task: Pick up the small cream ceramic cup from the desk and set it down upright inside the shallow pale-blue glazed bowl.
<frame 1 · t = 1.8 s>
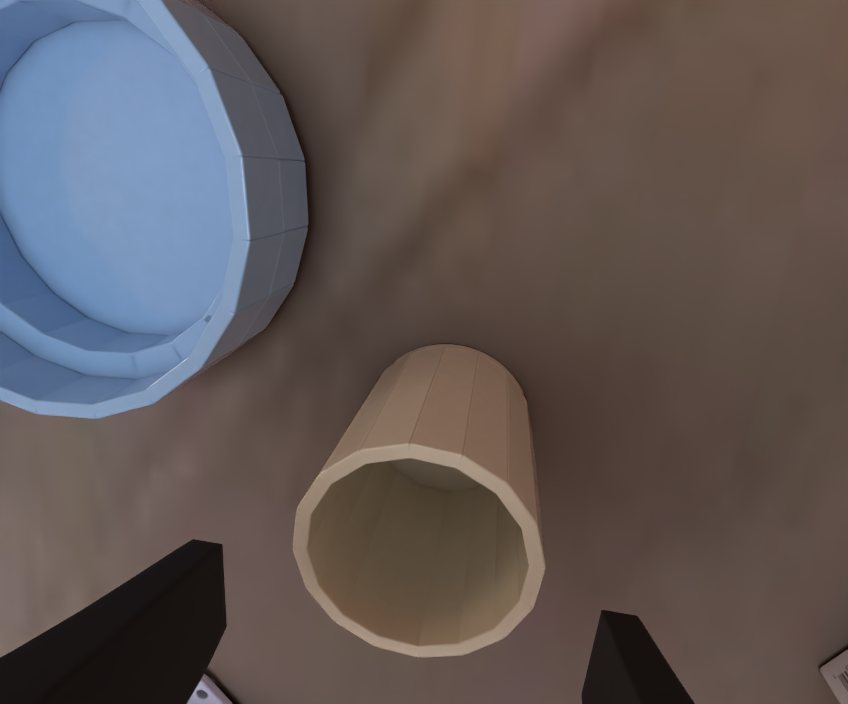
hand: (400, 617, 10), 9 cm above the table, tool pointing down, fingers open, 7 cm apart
bowl: (136, 190, 17), on the table
cup: (447, 420, 18), on the table
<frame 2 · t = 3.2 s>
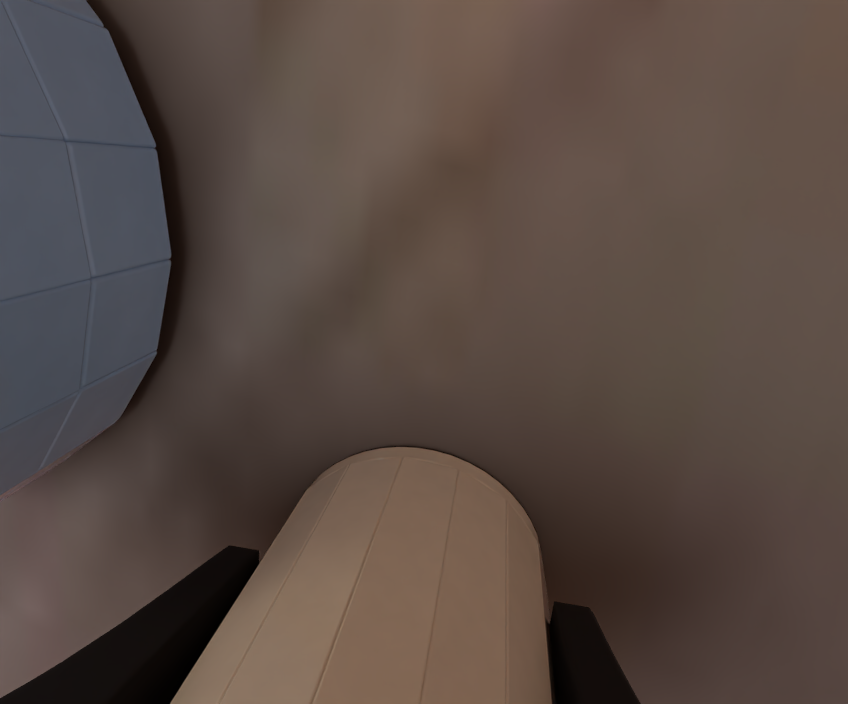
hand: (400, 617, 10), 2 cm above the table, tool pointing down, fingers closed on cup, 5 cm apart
cup: (412, 559, 12), on the table, touching gripper
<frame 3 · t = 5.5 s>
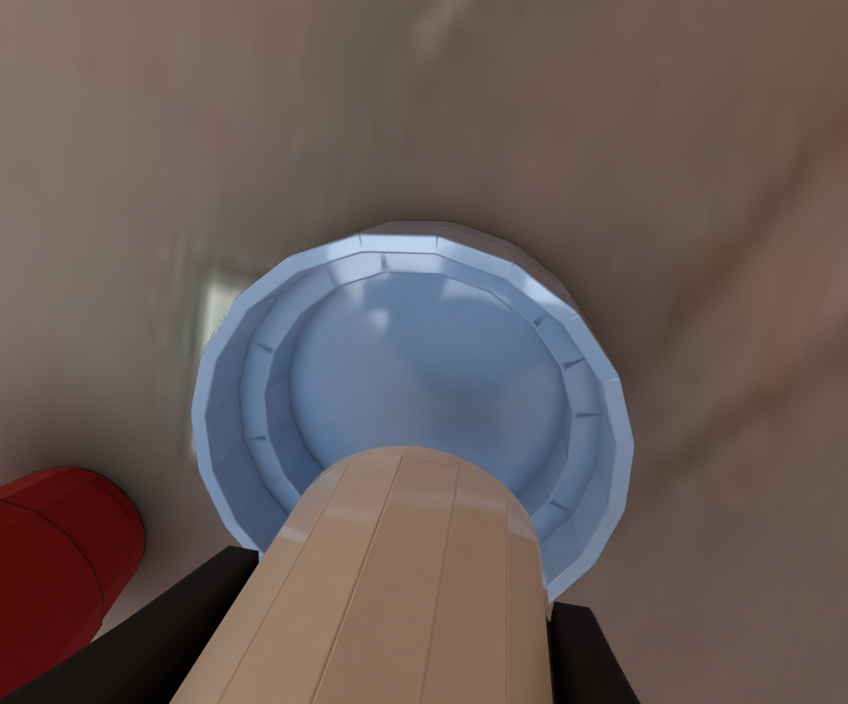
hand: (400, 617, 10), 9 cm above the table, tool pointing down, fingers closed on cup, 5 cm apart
bowl: (424, 395, 19), on the table
cup: (413, 558, 12), point 8 cm above the table, touching gripper
plastic cup: (83, 518, 23), on the table
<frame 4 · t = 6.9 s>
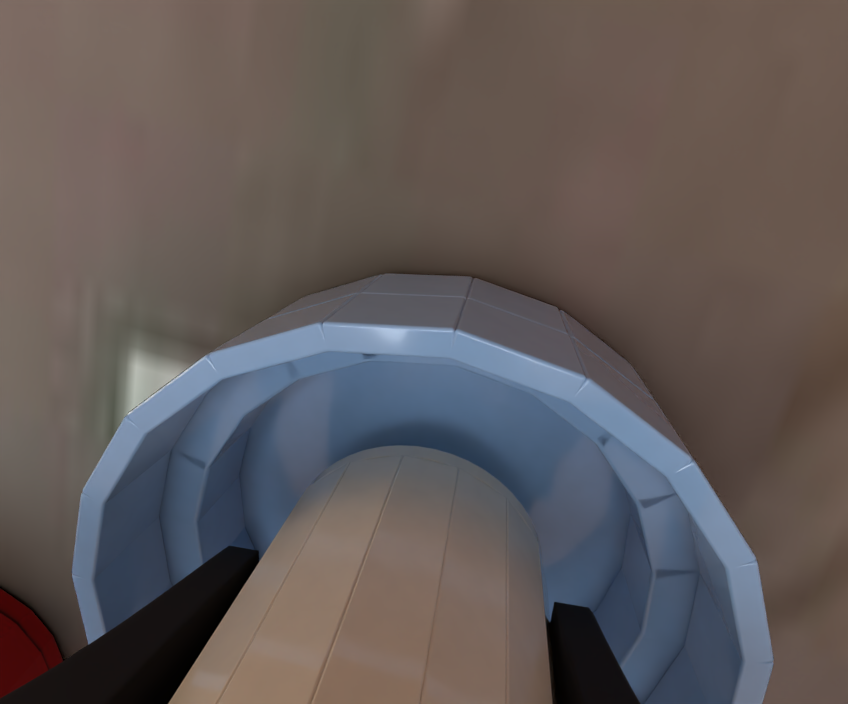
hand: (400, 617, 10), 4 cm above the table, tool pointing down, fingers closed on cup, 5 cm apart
bowl: (427, 506, 13), on the table
cup: (412, 558, 12), point 2 cm above the table, touching gripper
when the fingers open (2 cm above the table, at t = 7.9 s): cup stays where it is, resting on bowl.
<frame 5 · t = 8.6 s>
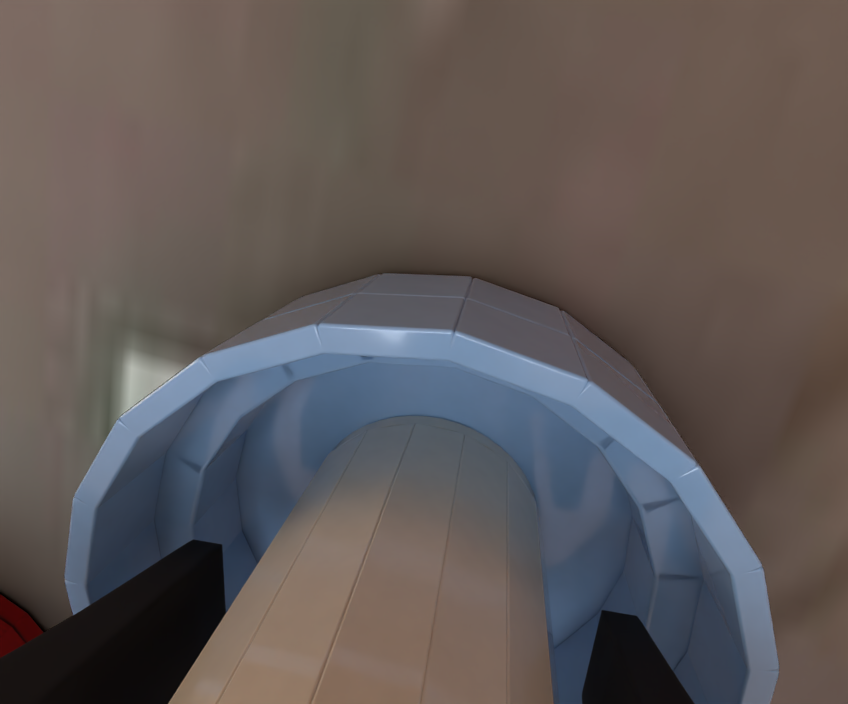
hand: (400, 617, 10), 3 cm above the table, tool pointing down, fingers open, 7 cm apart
bowl: (426, 508, 13), on the table
cup: (422, 519, 13), resting on bowl
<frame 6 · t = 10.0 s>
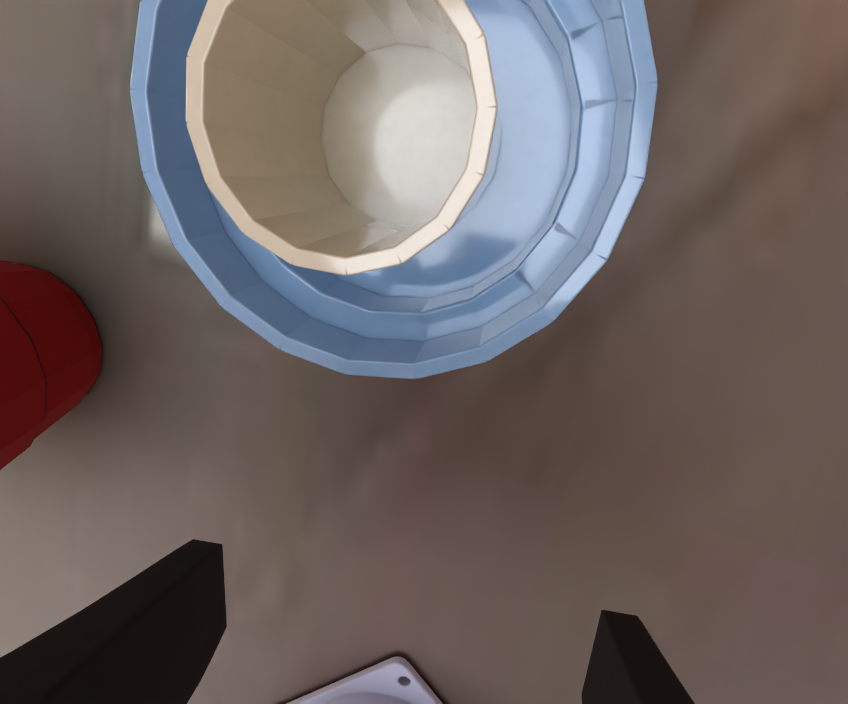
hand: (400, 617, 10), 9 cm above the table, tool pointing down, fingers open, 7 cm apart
bowl: (410, 142, 16), on the table
cup: (406, 140, 16), resting on bowl
plastic cup: (34, 332, 21), on the table
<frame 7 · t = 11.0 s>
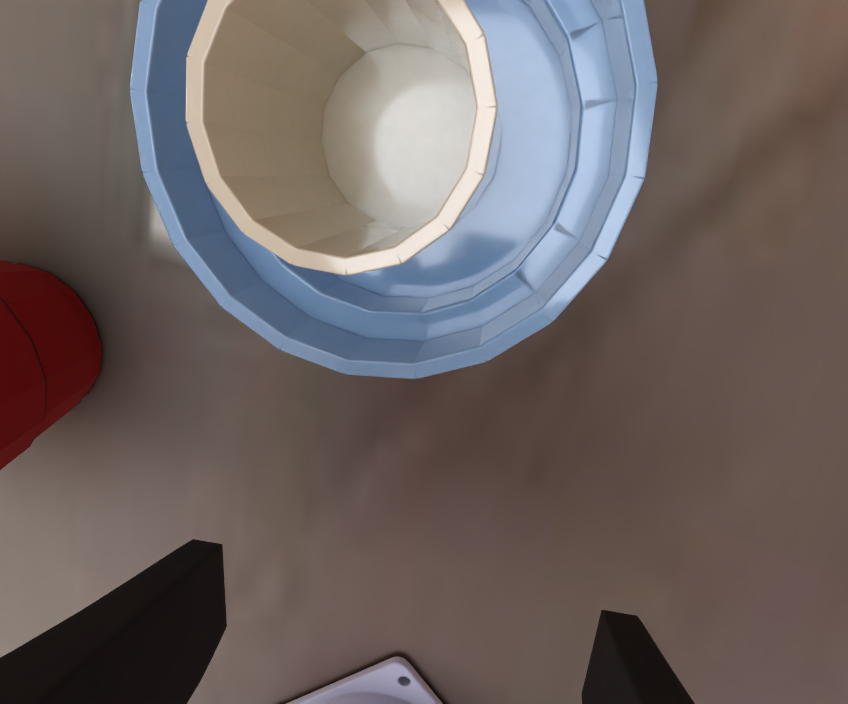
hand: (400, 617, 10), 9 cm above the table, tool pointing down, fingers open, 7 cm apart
bowl: (410, 142, 16), on the table
cup: (406, 140, 16), resting on bowl
plastic cup: (34, 332, 21), on the table
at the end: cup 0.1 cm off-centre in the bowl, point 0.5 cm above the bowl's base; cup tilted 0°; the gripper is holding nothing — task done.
